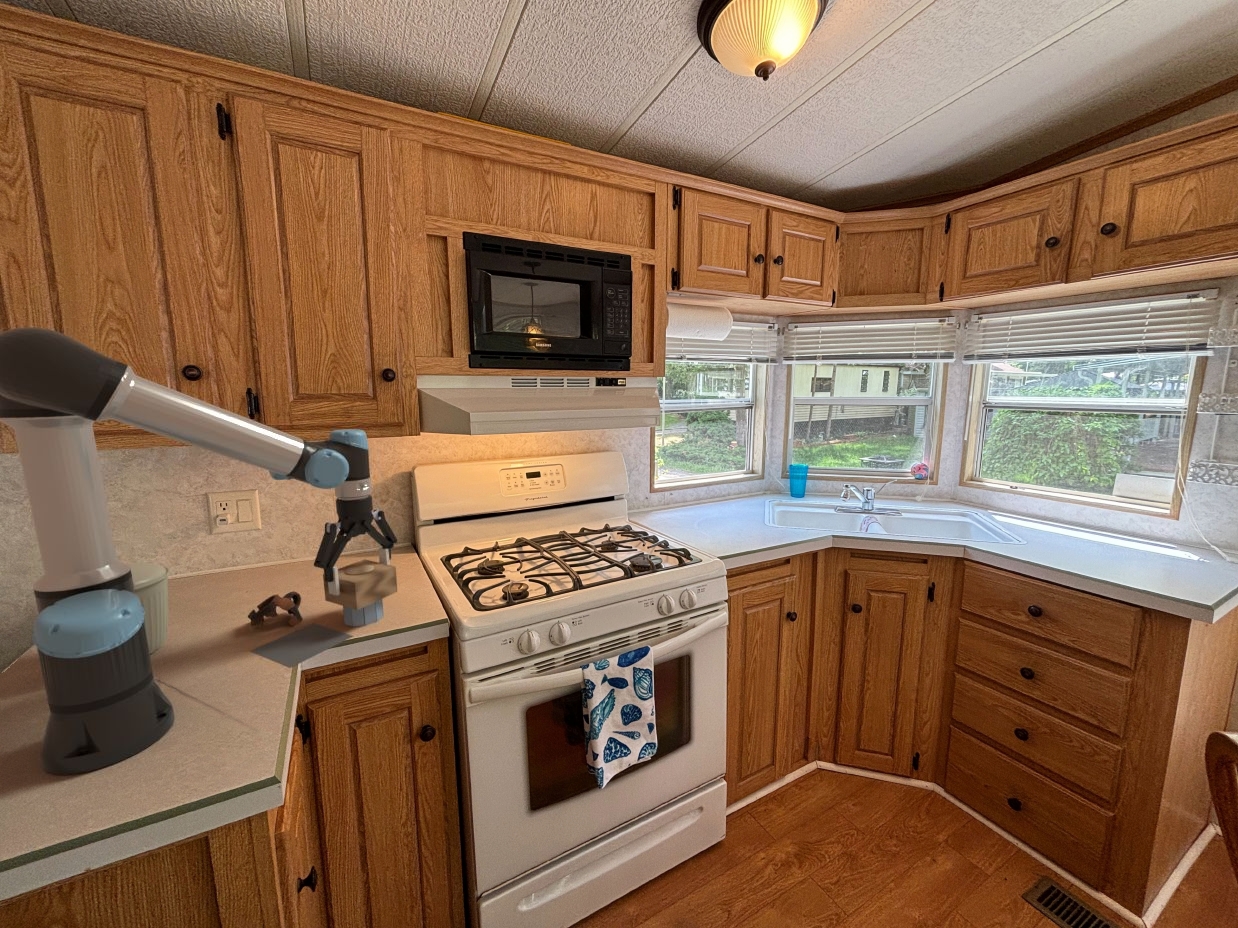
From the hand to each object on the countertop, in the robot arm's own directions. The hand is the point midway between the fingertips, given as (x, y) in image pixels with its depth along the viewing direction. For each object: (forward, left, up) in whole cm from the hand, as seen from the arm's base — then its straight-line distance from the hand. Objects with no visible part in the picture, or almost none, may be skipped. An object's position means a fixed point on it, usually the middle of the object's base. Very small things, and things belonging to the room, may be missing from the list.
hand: (361, 583), depth 121 cm
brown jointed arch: (-10, +16, -10) cm, 21 cm away
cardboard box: (0, 0, -3) cm, 3 cm away
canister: (-33, +31, -10) cm, 46 cm away
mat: (-14, +1, -9) cm, 17 cm away
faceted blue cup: (0, 0, -9) cm, 9 cm away
